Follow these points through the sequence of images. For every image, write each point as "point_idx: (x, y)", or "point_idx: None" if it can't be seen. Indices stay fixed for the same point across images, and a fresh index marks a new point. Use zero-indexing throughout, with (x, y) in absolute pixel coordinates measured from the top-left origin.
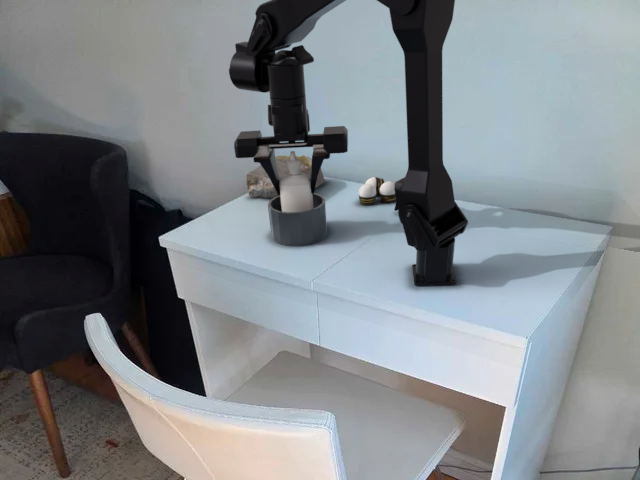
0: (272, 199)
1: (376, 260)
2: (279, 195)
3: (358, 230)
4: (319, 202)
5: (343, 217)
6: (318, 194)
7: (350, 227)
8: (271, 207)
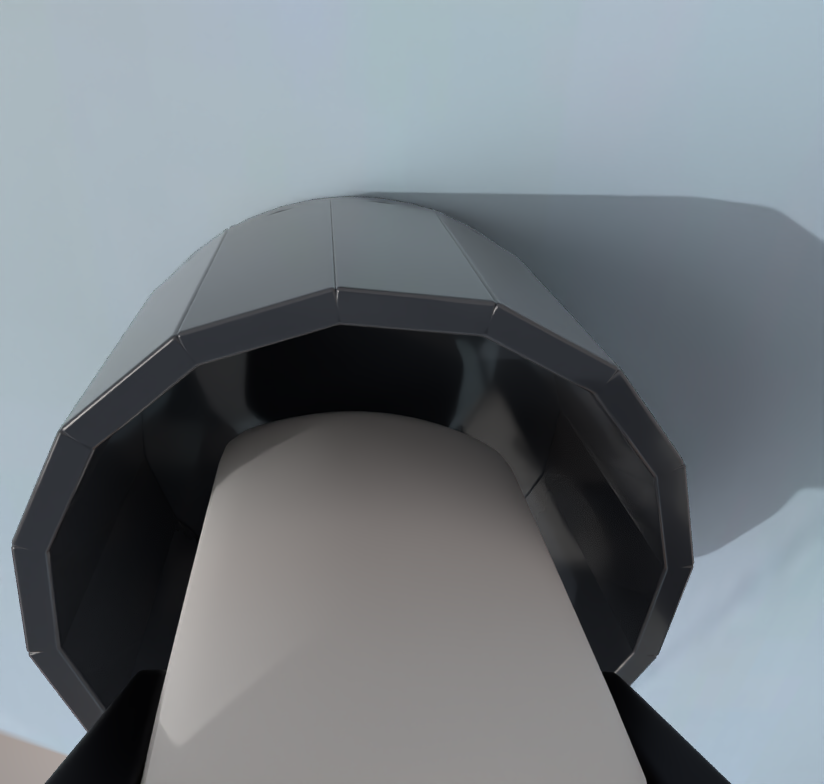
0: (47, 507)
1: (734, 743)
2: (125, 388)
3: (789, 411)
4: (620, 435)
5: (776, 130)
6: (655, 439)
7: (756, 353)
8: (89, 705)
